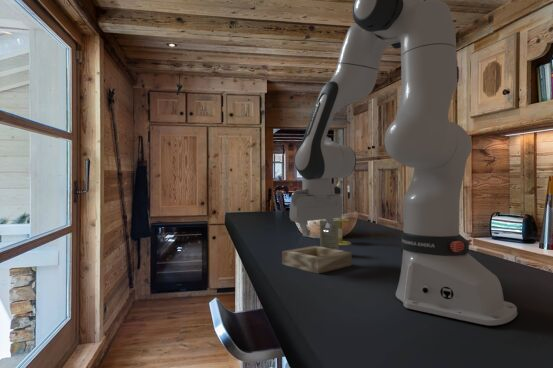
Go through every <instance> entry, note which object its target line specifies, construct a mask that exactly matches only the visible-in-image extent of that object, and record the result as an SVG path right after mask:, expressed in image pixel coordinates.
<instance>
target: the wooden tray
mask: <svg viewBox="0 0 553 368" xmlns="http://www.w3.org/2000/svg"><path fill="white" fill-rule="evenodd" d="M352 254H353V253H352V252H351V251H347V250H343V249H342V250H341V249H339V250H336V249H331V248H325V247H320V245H319V246H318V245H313V246H312V245H311V246H306V247H301V248H294V249H288V250H283V251H281V265H284V266H287V267H291V268H295V269H298V270H299V269H300V270H302V271H306V272H309V273H313V274H323V273H327V272H330V271H335V270H339V269H343V268H346V267H347V268H348V267H350V266H352V263H353V261H352V257H353V255H352Z"/></svg>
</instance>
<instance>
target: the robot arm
mask: <svg viewBox="0 0 553 368" xmlns="http://www.w3.org/2000/svg"><path fill="white" fill-rule="evenodd" d="M351 13H352V19H353V21H354V23H353V24H352V25H351V26H350V27H349V28H348V29H347V32H346V34H345V37H344V39H343V43H342V45H341V47H340V51H339V55H338V59H337V64H336V67H335V70H334V72H333V75H332V77H331V78H330V80H329V81H328V82H327V83H325V84H324V85H322V86H323V87H321V89H320V91H319V93H318V96H317V98H316V100H315V104H314V107H313V110H312V113H311V116H310V118H309V121H308V124H307V126H306V130H305V132H304V135H303V138H302V140H301V142H300V144H299V146H298V148H297V149H296V152H295V155H294V158H293V159H294V160H293V162H294V167H295V170H296V172H298V174H299V175H300V176H301V177H302V178H301V182H302V184H301V186H302V187H301V189H296V190H294V192H292V194H291V195H290V196H291V200H290V204H289V219H290V221H291V222H295V223H297V222H298V225H299V227H300V229H301V231H302V232H301V233H302V237H310V236H311V230H310V229H308V227H307V226H308V222H311V221H320V220H326V222H327V223H326V226H325V227H324V233H331V227H332V224H333V222H334V219H337V218H340V217H341V215H342V216H343V197H342V198H341V196H340V195H341V194H342V195H343V187H342V188H340V187H338V186H337V184H334V183H332V179H342V178H348V177H350V176H351V175H352V174H353V173H354V171H355V168H356V166H357V156H356V152H354V151H355V150H353V148H352V147H350V146H349V145H345V144H342V143H337V142H335V141H333V140H331V139H330V137H329V136H327V135H328V132H329V130H330V128H331V125H332V122H333V118H334V116H335V114H336V113H337V112H338V111H339V110H341V109H342V108H344V107H345V106H347V105H348V106H349V105H350V104H354V103H357V102H359V101H362V100H363V99H365V98H367V97H368V96H369V95H370V94H371V93H372V92H373V89H374V87H375V85H376V83H377V79H378V75H379V72H380V67H381V62H382V61H381V60H382V58H383V55H384V52H385V51H386V50H387V48H388V47H390V46H392V48H394V49H400V67H401V69H400V76H401V79H400V80H401V85H400V86H401V89H400V99H399V103H398V108H397V112H396V115H395V118H394V119H393V121H392V122H391V123H390V124H389V126H388V127H387V130H386V132H385V135H384V146H385V147H384V148H385V151H386V153H387V155H388V156H389V157H390V158H391V159H392V160H394V161H396V162H397V163H399V164H401V165H403V166H404V167H408V168H413V172H412V177H411V181H410V184H409V187H408V189H407V191H406V192H405V194H404V196H403V200H402V201H403V205H402V206H403V209H402V210H403V214H402V215H403V216H402V218H403V220H402V221H403V225H402V226H403V227H402V228H403V231H402V232H401V234H400V235H401V236H400V237H401V238H400V252H401V256H402V259H401V268H400V274H399V280H398V284H397V288H396V291H395V297H396V298H397V299H398V300H399V301H401V302H402V304H403V306H404V307H405V308H406V309H410V310H414V311H419V312H424V313H428V314H433V315H437V316H440V317H441V316H442V317H446V318H451V319H456V320H459V321H465V322H469V323H474V324H479V325H484V326H499V325H504V324H507V323H509V322H511V321H513V320H514V319H515V318H516V317H517V315H518V307H517V306H516V305H515V304H514V303H512V302H509V301H505V300H504V293H503V288H502V285H501V281H500V280H499V278H498V277H497V275H496V274H494V273H493V272H491V271H490V270H489V269H488V268H487V267H485V266H484V265H483V264H481V263H480V262H479V261H478V260H477V259H476V258H475V257H473V256H472V255H470V246H471V245H472V243H471V242H472V241H473V240H472V239H466V238H465V237H463V235H461V234H460V199H461V198H460V197H461V191H462V185H463V180H464V175H465V170H466V166H467V160H468V159H469V156H470V155H471V153H472V148H473V142H472V138H471V137H470V135H469V133H468V132H467V131H466V130H465V129H464V128H463V127H462V126H461V125H460V124H458V123H456V122H454V121H450V120H449V112H450V106H451V101H452V98H453V95H454V93H455V91H456V90H457V88H458V66H457V65H458V63H457V62H458V59H457V57H458V56H457V39H456V37H457V36H456V31H455V25H454V21H453V19H454V18H453V16H452V11H451V9H450V7H449V5H448V4H447V3H446V2H444V1H442V0H353V3H352V9H351Z"/></svg>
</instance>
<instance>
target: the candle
mask: <svg viewBox="0 0 553 368" xmlns="http://www.w3.org/2000/svg"><path fill="white" fill-rule="evenodd" d="M336 186H338V187H340V188H342V189H343V187H342V183H341V180H340V179H338V181H337V184H336ZM340 196H341V198H342V199H343V193H342V194H341V195H340ZM342 216H343V214H342V215H341V217H340V218H334V220H338V238H339V246H349V245H352V242H350V241H345V240H343V223H347V222H350V219H347V218H346V219H345V218H343V217H342Z"/></svg>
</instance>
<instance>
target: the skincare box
mask: <svg viewBox="0 0 553 368" xmlns="http://www.w3.org/2000/svg"><path fill="white" fill-rule="evenodd" d="M326 223H327V222H326V219H322V220H319V243H320V245H319V246H320V247H325V248H331V249H336V250H340V247H339V246H340V245H339V238H338V220H334V222H333V224H332V227H331V233H324V227H325V226H326Z"/></svg>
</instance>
